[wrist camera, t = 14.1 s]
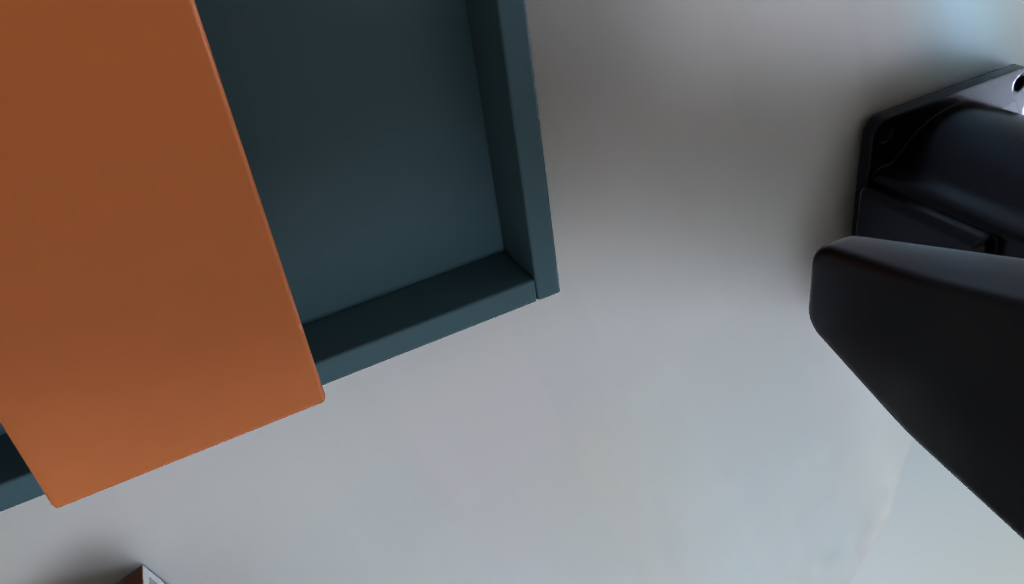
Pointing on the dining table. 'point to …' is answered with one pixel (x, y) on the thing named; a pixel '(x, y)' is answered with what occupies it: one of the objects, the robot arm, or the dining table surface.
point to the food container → (141, 577)
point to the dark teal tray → (383, 169)
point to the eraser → (131, 250)
